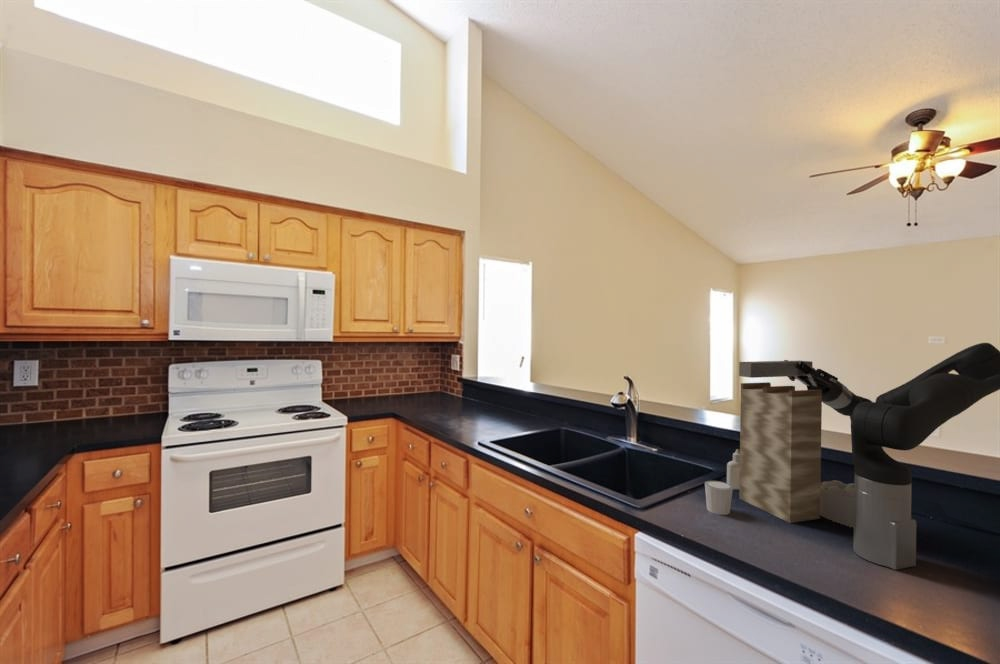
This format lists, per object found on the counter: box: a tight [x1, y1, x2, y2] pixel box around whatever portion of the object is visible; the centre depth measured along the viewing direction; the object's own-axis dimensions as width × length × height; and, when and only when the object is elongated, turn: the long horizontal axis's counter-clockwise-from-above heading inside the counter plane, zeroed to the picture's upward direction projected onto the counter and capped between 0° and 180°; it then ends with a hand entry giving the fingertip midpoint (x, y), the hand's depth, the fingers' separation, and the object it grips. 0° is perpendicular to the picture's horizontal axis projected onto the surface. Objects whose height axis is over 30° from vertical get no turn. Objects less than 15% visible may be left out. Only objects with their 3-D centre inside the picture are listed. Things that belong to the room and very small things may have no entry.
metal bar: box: [738, 360, 813, 379], centre depth 123 cm, size 4×22×4 cm, turn 106°
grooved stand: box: [738, 381, 823, 524], centre depth 118 cm, size 16×10×34 cm, turn 16°
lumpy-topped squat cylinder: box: [820, 479, 855, 529], centre depth 113 cm, size 10×13×9 cm
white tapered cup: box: [704, 480, 734, 516], centre depth 117 cm, size 7×7×7 cm
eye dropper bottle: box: [726, 448, 740, 491], centre depth 133 cm, size 4×6×12 cm
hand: (791, 363), depth 124 cm, fingers closed on metal bar, 4 cm apart
